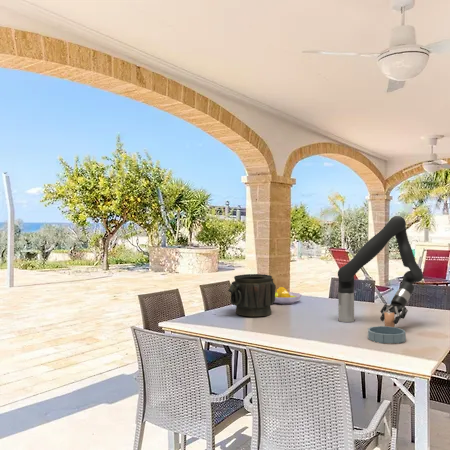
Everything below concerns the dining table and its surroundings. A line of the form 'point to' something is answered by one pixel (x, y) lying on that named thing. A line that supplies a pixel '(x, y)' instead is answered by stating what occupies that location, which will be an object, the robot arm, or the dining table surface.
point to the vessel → (253, 294)
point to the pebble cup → (389, 319)
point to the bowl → (386, 334)
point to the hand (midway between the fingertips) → (388, 321)
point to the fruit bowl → (285, 296)
